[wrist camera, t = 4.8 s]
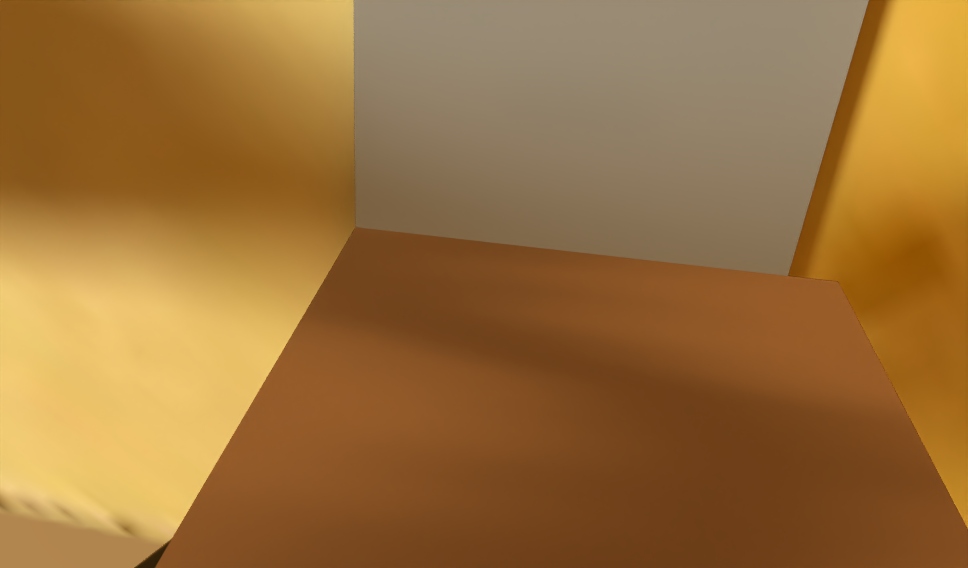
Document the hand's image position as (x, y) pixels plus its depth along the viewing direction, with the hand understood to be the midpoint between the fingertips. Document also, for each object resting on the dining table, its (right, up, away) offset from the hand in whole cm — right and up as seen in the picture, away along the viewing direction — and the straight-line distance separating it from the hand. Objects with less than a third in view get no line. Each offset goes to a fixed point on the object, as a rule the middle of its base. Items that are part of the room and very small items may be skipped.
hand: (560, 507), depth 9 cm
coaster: (+1, +5, +10) cm, 11 cm away
